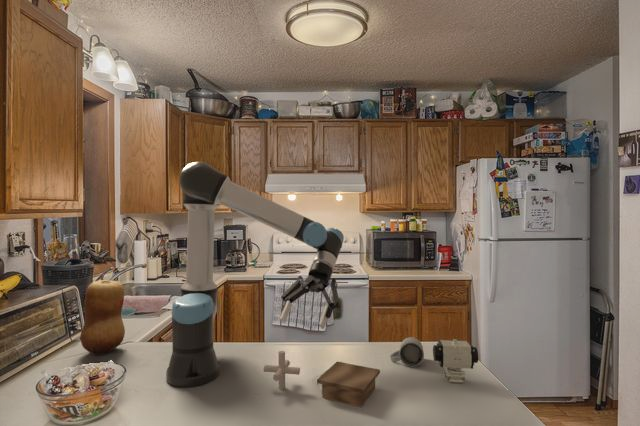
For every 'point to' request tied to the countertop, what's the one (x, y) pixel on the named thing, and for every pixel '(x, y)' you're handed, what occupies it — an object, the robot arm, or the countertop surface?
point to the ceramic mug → (409, 352)
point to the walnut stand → (348, 383)
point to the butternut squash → (103, 317)
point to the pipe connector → (281, 370)
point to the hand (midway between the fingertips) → (301, 323)
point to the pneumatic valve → (455, 358)
